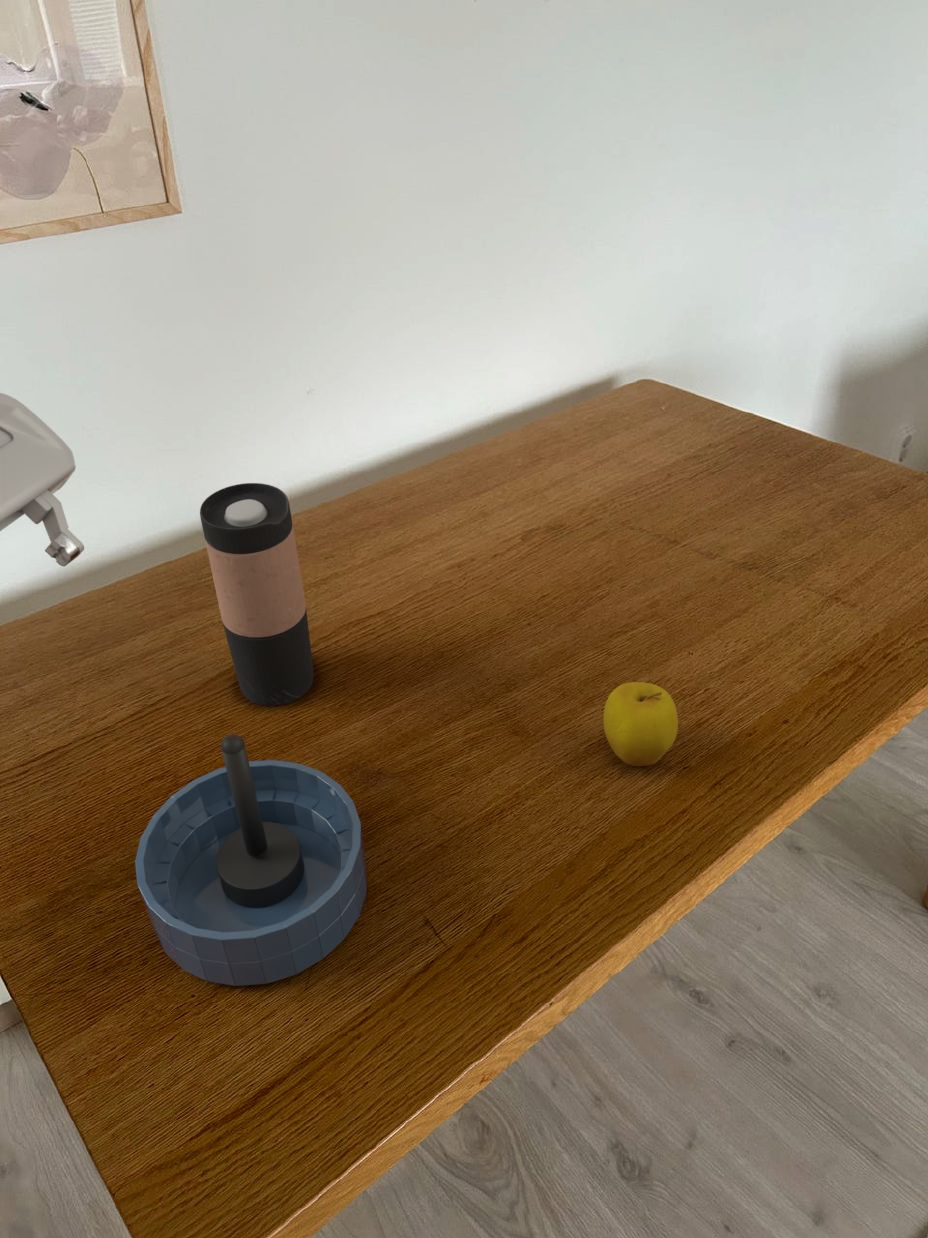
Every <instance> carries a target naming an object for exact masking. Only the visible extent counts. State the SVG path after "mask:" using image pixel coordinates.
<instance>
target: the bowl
mask: <svg viewBox="0 0 928 1238" xmlns="http://www.w3.org/2000/svg"><path fill="white" fill-rule="evenodd" d="M248 761H249V766H250V770H251V775H252V779H253V783H254V788H255V792H256V797H257V801H258V806H259V810H260V814H261V819H262V822H274V823H278V824H282V825H284V826H286V827H287V828H289V829H290V830H291V831H293V832H294V834H295V835H296V836H297V838H298V840H299V842H300V847H301V852H302V857H303V862H304V874H303V878H302V880H301V882H300V884H299V886H298V887H297V889H296V890H295V891H294V892H293V893H292V894H291V895H290V896H289V897H287V898H286V899H285V900H283V901H281V902H279V903H277V904H275V905H272V906H268V907H264V908H248V907H243V906H241V905H238V904H236V903H234V902H233V901H232V900H230V899H229V898H228V897H227V895H226V894H225V893H224V890H223V888H222V885H221V881H220V877H219V874H218V870H217V867H216V857H217V853H218V851H219V848H220V846H221V845H222V843H223V842H224V840H225V839H226V838H227V837H228V836H229V835H231V834H232V833H233V832H234V831H236V830H238V829H239V828H241V827H240V823H239V819H238V815H237V811H236V807H235V803H234V799H233V795H232V791H231V787H230V783H229V779H228V775H227V771H226V767H225V766H224V767H220V768H217V769H215V770H213V771H211V772H208V773H206V774H204V775H202V776H199V777H198V778H196V779H193V780H192V781H190V782H189V783H187V784H186V785H185V786H184V787H182V788H180V789H179V790H177V791H176V792H175V793H173V794H172V795H171V796H170V797H169V798H168V799H167V800H166V801H165V802H164V803H163V804H162V806H161V807H160V808H158V810H157V811H156V812H155V813H154V814H153V816H152V817H151V818H150V820H149V822H148V824H147V825H146V828H145V829H144V832H143V833H142V835H141V837H140V839H139V843H138V847H137V852H136V855H135V860H134V865H135V874H136V883H137V887H138V890H139V893H140V896H141V899H142V902H143V904H144V906H145V909H146V912H147V915H148V917H149V920H150V922H151V926H152V928H153V931H154V933H155V935H156V938H157V939H158V941H159V944H160V945H161V947H162V949H163V951H164V954H166V955H167V956H168V957H169V958H170V959H171V960H172V961H174V962H175V964H177V965H178V967H180V968H181V969H182V970H183V971H184V972H186V973H189V974H190V975H193V976H195V977H197V978H199V979H202V980H204V981H205V982H209V983H215V984H222V985H228V986H233V987H243V986H254V985H255V986H257V985H268V984H271V983H274V982H277V981H280V980H284V979H286V978H290V977H294V976H296V975H298V974H300V973H302V972H303V971H305V970H306V969H308V968H310V967H312V966H313V965H315V964H317V963H319V962H320V961H322V960H323V959H325V958H326V957H327V956H328V955H329V954H330V953H331V952H332V951H333V950H334V949H335V948H336V947H338V946H339V945H340V944H341V943H342V942H343V941H344V940H345V939H346V937H347V936H348V934H349V933H350V931H351V929H352V928H353V926H354V925H355V924H356V922H357V920H358V919H359V917H360V915H361V913H362V909H363V906H364V903H365V901H366V900H365V899H366V897H367V892H368V875H367V874H368V868H367V861H366V853H365V845H364V838H363V829H362V822H361V819H360V816H359V814H358V810H357V807H356V804H355V802H354V800H353V799H352V798H351V797H350V795H349V794H348V793H347V791H346V790H345V789H344V787H343V786H342V785H341V784H340V783H338V782H337V781H336V780H334V779H333V778H331V777H330V776H329V775H327V774H325V773H324V772H322V771H321V770H318V769H315V768H312V767H311V766H307V765H305V764H302V763H298V762H292V761H285V760H284V761H283V760H277V759H266V760H252V761H250V760H248Z"/></svg>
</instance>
